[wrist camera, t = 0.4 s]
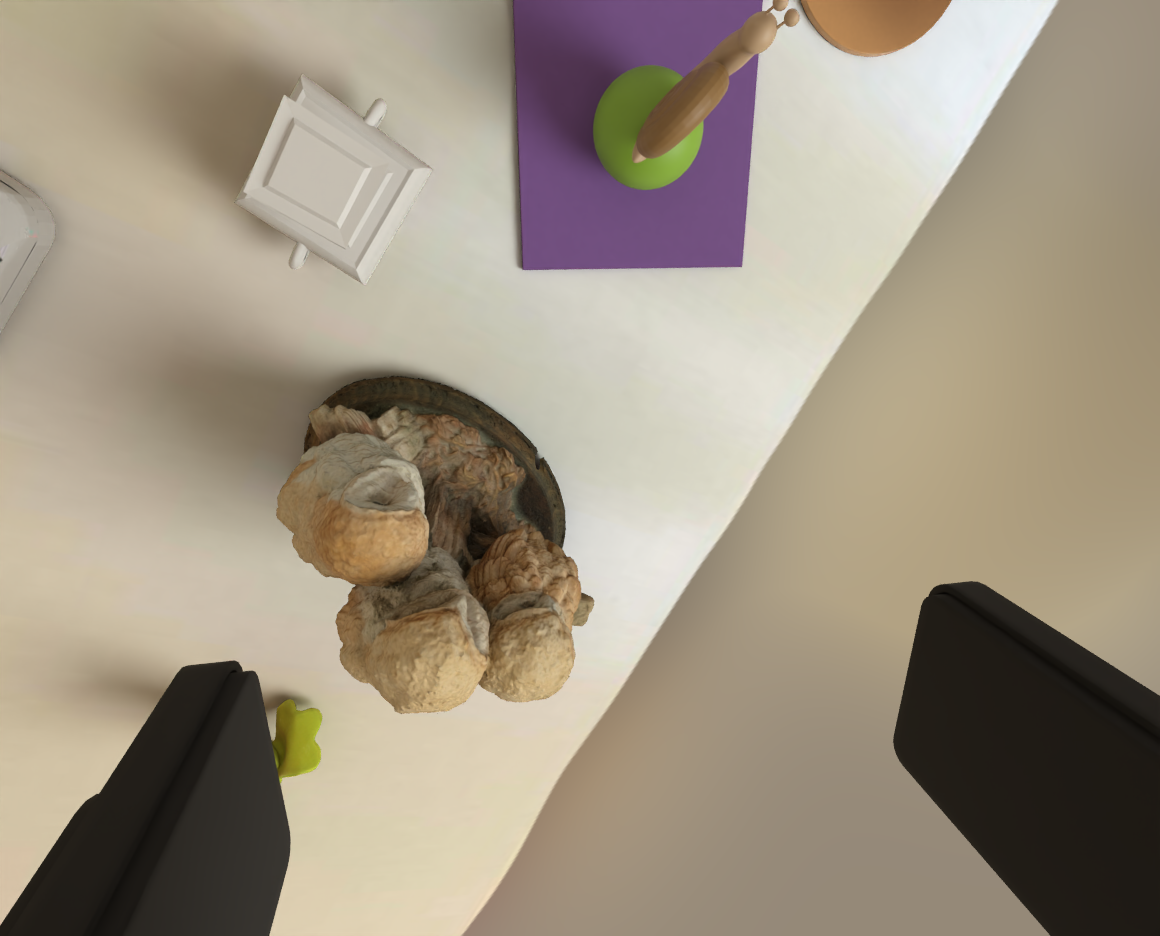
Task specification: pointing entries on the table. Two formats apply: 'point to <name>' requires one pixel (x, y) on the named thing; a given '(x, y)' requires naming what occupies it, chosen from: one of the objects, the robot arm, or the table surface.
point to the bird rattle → (296, 740)
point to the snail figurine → (672, 107)
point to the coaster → (873, 23)
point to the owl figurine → (436, 545)
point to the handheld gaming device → (20, 241)
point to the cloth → (567, 151)
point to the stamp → (332, 181)
